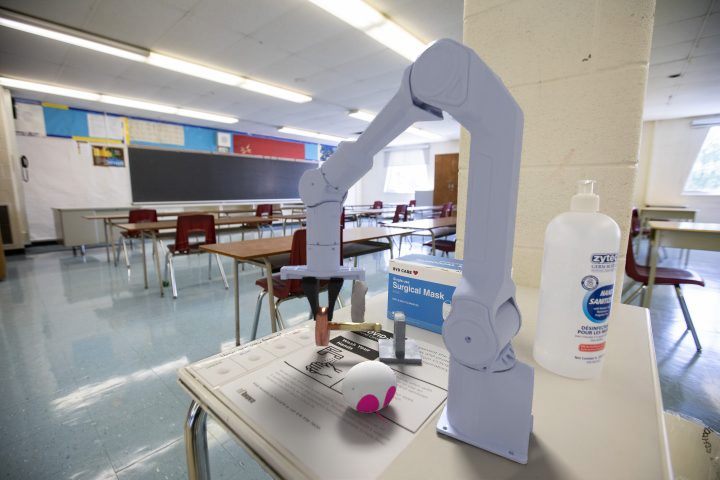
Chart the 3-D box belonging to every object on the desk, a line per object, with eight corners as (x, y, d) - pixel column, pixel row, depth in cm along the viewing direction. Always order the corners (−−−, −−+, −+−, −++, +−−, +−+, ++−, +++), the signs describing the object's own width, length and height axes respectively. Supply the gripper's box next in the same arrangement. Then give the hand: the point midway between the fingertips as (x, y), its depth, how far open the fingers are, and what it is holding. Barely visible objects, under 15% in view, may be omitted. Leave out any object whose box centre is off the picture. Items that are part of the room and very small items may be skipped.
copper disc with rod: (380, 337, 58) (381, 302, 57) (382, 355, 51) (383, 316, 50) (321, 335, 58) (321, 301, 57) (315, 353, 52) (315, 314, 51)
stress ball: (351, 447, 38) (364, 428, 34) (329, 385, 43) (339, 361, 39) (401, 425, 41) (420, 405, 37) (376, 369, 46) (390, 346, 42)
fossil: (363, 332, 63) (364, 284, 62) (347, 330, 64) (347, 283, 62) (368, 321, 69) (369, 277, 67) (353, 319, 69) (353, 276, 68)
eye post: (415, 343, 58) (416, 309, 57) (421, 363, 51) (423, 324, 50) (378, 343, 58) (379, 308, 57) (379, 362, 51) (380, 323, 51)
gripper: (365, 240, 56) (364, 311, 58) (287, 239, 57) (288, 309, 59) (365, 246, 49) (364, 327, 51) (276, 244, 50) (277, 324, 52)
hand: (323, 319), depth 54 cm, fingers closed on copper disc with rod, 2 cm apart
